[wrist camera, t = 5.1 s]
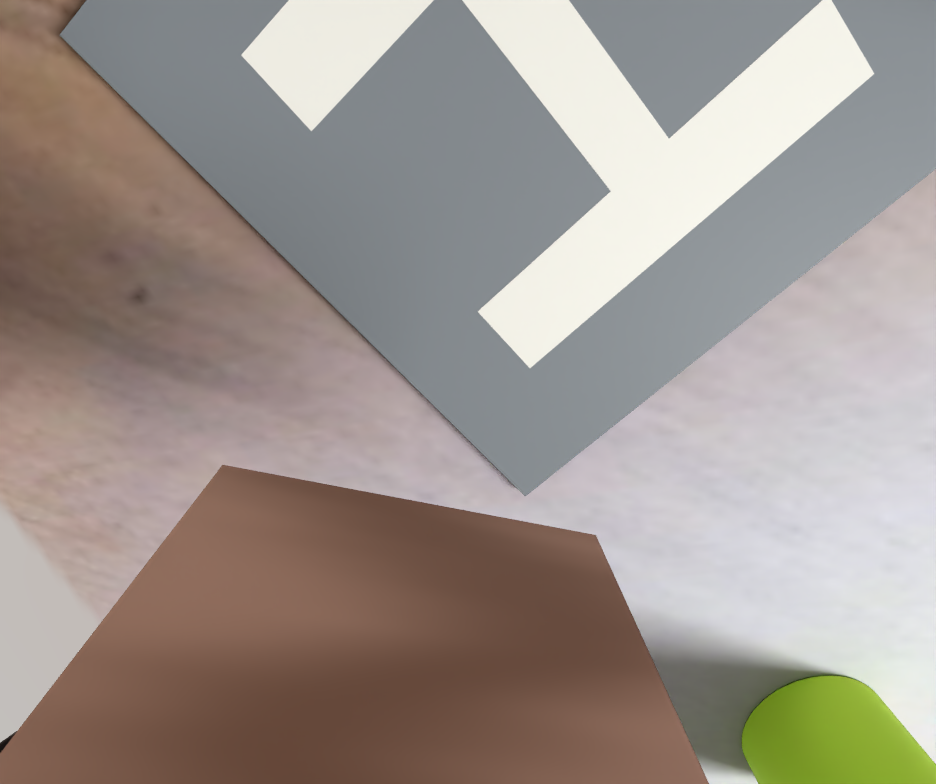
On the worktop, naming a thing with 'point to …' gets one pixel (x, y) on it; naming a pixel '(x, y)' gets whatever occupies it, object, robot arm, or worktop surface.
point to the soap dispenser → (831, 737)
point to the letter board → (537, 173)
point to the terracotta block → (358, 655)
